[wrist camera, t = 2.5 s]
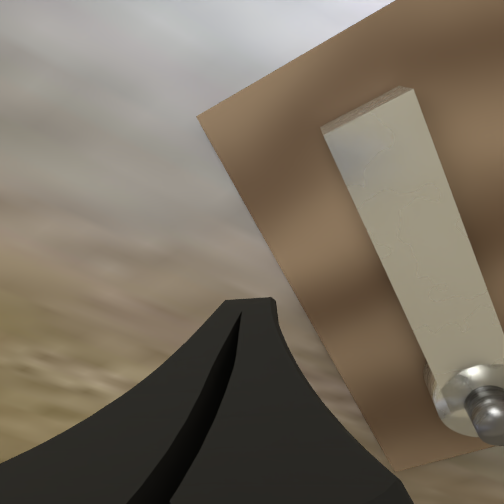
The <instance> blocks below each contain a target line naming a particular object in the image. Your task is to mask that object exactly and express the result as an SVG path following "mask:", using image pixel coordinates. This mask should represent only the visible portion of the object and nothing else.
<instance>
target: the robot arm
mask: <svg viewBox="0 0 504 504" xmlns="http://www.w3.org/2000/svg"><path fill="white" fill-rule="evenodd" d="M0 504H414V503H413V501H412V499H411V498H410V496H409V494H408V492H407V491H406V489H405V487H404V485H403V484H402V482H401V480H400V479H398V478H397V477H396V476H395V475H394V474H393V473H391V472H390V471H389V470H388V469H387V468H386V467H384V466H383V465H382V464H381V463H380V462H379V461H378V460H377V459H376V458H375V457H373V456H372V455H371V454H370V453H369V452H368V451H367V450H366V449H365V448H364V447H363V446H362V445H361V444H360V443H359V442H358V441H357V440H356V439H355V438H354V437H353V436H352V435H351V434H350V433H349V432H348V431H347V430H346V429H345V428H344V426H343V425H342V424H341V423H340V422H339V421H338V419H337V418H336V417H335V416H334V415H333V414H332V413H331V411H330V410H329V409H328V408H327V407H326V406H325V404H324V403H323V402H322V401H321V399H320V398H319V397H318V395H317V394H316V392H315V391H314V390H313V388H312V387H311V385H310V384H309V382H308V381H307V380H306V378H305V377H304V375H303V373H302V372H301V370H300V368H299V367H298V365H297V363H296V361H295V359H294V358H293V356H292V354H291V352H290V350H289V348H288V346H287V344H286V341H285V339H284V337H283V334H282V332H281V329H280V326H279V323H278V314H277V306H276V301H275V300H274V299H273V298H271V297H268V298H252V299H236V300H225V301H224V302H223V303H222V304H221V305H220V306H219V308H218V309H217V310H216V311H215V312H214V313H213V314H212V315H211V316H210V317H209V318H208V320H207V321H206V322H205V323H204V324H203V325H202V326H201V327H200V328H199V329H198V330H197V331H196V332H195V333H194V334H193V335H192V337H191V338H190V339H189V340H188V341H187V342H186V343H185V344H183V345H182V346H181V347H180V348H179V349H178V350H177V351H176V352H175V353H174V354H173V355H172V356H171V357H170V358H168V359H167V360H166V361H165V362H164V363H163V364H162V365H161V366H160V367H158V368H157V369H156V370H155V371H154V372H153V373H151V374H150V375H149V376H148V377H146V378H145V379H144V380H142V381H141V382H140V383H138V384H137V385H136V386H135V387H133V388H132V389H131V390H129V391H128V392H126V393H125V394H124V395H122V396H121V397H119V398H118V399H116V400H115V401H113V402H111V403H110V404H108V405H107V406H105V407H104V408H102V409H101V410H99V411H98V412H96V413H95V414H93V415H92V416H90V417H89V418H87V419H85V420H84V421H82V422H80V423H78V424H77V425H75V426H73V427H71V428H70V429H68V430H66V431H65V432H63V433H61V434H59V435H57V436H55V437H53V438H52V439H50V440H48V441H46V442H44V443H42V444H40V445H38V446H36V447H34V448H32V449H30V450H28V451H26V452H24V453H22V454H20V455H18V456H16V457H14V458H11V459H9V460H7V461H5V462H3V463H1V464H0Z"/></svg>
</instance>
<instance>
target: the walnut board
mask: <svg viewBox="0 0 504 504" xmlns="http://www.w3.org/2000/svg"><path fill="white" fill-rule="evenodd" d="M398 86H402V87H407V88H412V89H414V92H415V94H416V97H417V100H418V103H419V105H420V108H421V111H422V113H423V116H424V119H425V122H426V124H427V127H428V130H429V132H430V135H431V138H432V141H433V143H434V146H435V149H436V151H437V154H438V157H439V160H440V162H441V165H442V168H443V170H444V173H445V176H446V179H447V181H448V184H449V187H450V189H451V192H452V195H453V198H454V200H455V203H456V206H457V208H458V211H459V214H460V217H461V219H462V222H463V225H464V227H465V230H466V233H467V236H468V238H469V241H470V244H471V246H472V249H473V252H474V255H475V257H476V260H477V263H478V265H479V268H480V271H481V274H482V276H483V279H484V282H485V284H486V287H487V290H488V293H489V295H490V298H491V301H492V303H493V306H494V309H495V312H496V314H497V317H498V320H499V322H500V325H501V328H502V331H503V333H504V0H395V1H394V2H392V3H390V4H389V5H387V6H385V7H383V8H382V9H380V10H378V11H377V12H375V13H373V14H371V15H370V16H368V17H366V18H365V19H363V20H361V21H359V22H358V23H356V24H354V25H352V26H351V27H349V28H347V29H346V30H344V31H342V32H340V33H339V34H337V35H335V36H334V37H332V38H330V39H328V40H327V41H325V42H323V43H322V44H320V45H318V46H316V47H315V48H313V49H311V50H310V51H308V52H306V53H304V54H303V55H301V56H299V57H298V58H296V59H294V60H292V61H291V62H289V63H287V64H286V65H284V66H282V67H280V68H279V69H277V70H275V71H274V72H272V73H270V74H268V75H267V76H265V77H263V78H262V79H260V80H258V81H256V82H255V83H253V84H251V85H250V86H248V87H246V88H244V89H243V90H241V91H239V92H238V93H236V94H234V95H232V96H231V97H229V98H227V99H226V100H224V101H222V102H220V103H219V104H217V105H215V106H214V107H212V108H210V109H208V110H207V111H205V112H203V113H202V114H200V115H198V116H196V117H197V119H198V121H199V122H200V124H201V126H202V128H203V130H204V131H205V133H206V135H207V137H208V139H209V140H210V142H211V144H212V146H213V147H214V149H215V151H216V153H217V155H218V156H219V158H220V160H221V162H222V164H223V165H224V167H225V169H226V171H227V173H228V174H229V176H230V178H231V180H232V181H233V183H234V185H235V187H236V189H237V190H238V192H239V194H240V196H241V198H242V199H243V201H244V203H245V205H246V207H247V208H248V210H249V212H250V214H251V215H252V217H253V219H254V221H255V223H256V224H257V226H258V228H259V230H260V232H261V233H262V235H263V237H264V239H265V241H266V242H267V244H268V246H269V248H270V250H271V251H272V253H273V255H274V257H275V258H276V260H277V262H278V264H279V266H280V267H281V269H282V271H283V273H284V275H285V276H286V278H287V280H288V282H289V284H290V285H291V287H292V289H293V291H294V292H295V294H296V296H297V298H298V300H299V301H300V303H301V305H302V307H303V309H304V310H305V312H306V314H307V316H308V318H309V319H310V321H311V323H312V325H313V326H314V328H315V330H316V332H317V334H318V335H319V337H320V339H321V341H322V343H323V344H324V346H325V348H326V350H327V352H328V353H329V355H330V357H331V359H332V361H333V362H334V364H335V366H336V368H337V369H338V371H339V373H340V375H341V377H342V378H343V380H344V382H345V384H346V386H347V387H348V389H349V391H350V393H351V395H352V396H353V398H354V400H355V402H356V403H357V405H358V407H359V409H360V411H361V412H362V414H363V416H364V418H365V420H366V421H367V423H368V425H369V427H370V429H371V430H372V432H373V434H374V436H375V437H376V439H377V441H378V443H379V445H380V446H381V448H382V450H383V452H384V454H385V455H386V457H387V459H388V461H389V463H390V464H391V466H392V468H393V470H394V472H398V471H401V470H405V469H409V468H413V467H417V466H421V465H424V464H428V463H432V462H436V461H440V460H444V459H447V458H451V457H455V456H459V455H463V454H467V453H470V452H474V451H478V450H482V449H486V448H489V447H493V446H494V445H490V444H487V443H485V442H483V441H482V440H481V439H480V438H479V437H471V436H466V435H462V434H460V433H457V432H455V431H453V430H451V429H450V428H448V427H447V426H446V425H445V424H444V423H443V422H442V420H441V419H440V417H439V415H438V413H437V410H436V408H435V405H434V403H433V400H432V398H431V395H430V393H429V391H428V388H427V386H426V383H425V380H424V376H423V370H424V365H425V362H426V358H425V356H424V354H423V352H422V349H421V347H420V345H419V343H418V341H417V338H416V336H415V334H414V332H413V330H412V328H411V325H410V323H409V321H408V319H407V317H406V315H405V312H404V310H403V308H402V306H401V304H400V301H399V299H398V297H397V295H396V293H395V291H394V288H393V286H392V284H391V282H390V280H389V278H388V275H387V273H386V271H385V269H384V267H383V265H382V262H381V260H380V258H379V256H378V254H377V251H376V249H375V247H374V245H373V243H372V241H371V238H370V236H369V234H368V232H367V230H366V228H365V225H364V223H363V221H362V219H361V217H360V215H359V212H358V210H357V208H356V206H355V204H354V201H353V199H352V197H351V195H350V193H349V191H348V188H347V186H346V184H345V182H344V180H343V178H342V175H341V173H340V171H339V169H338V167H337V164H336V162H335V160H334V158H333V156H332V154H331V151H330V149H329V147H328V145H327V143H326V141H325V138H324V136H323V134H322V131H321V129H320V127H321V126H323V125H325V124H327V123H329V122H331V121H333V120H335V119H336V118H338V117H340V116H342V115H344V114H346V113H348V112H350V111H352V110H354V109H356V108H357V107H359V106H361V105H363V104H365V103H367V102H369V101H371V100H373V99H375V98H377V97H379V96H380V95H382V94H384V93H386V92H388V91H390V90H392V89H394V88H396V87H398Z"/></svg>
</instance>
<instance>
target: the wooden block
mask: <svg viewBox="0 0 504 504" xmlns="http://www.w3.org/2000/svg"><path fill="white" fill-rule="evenodd" d="M320 129H321V131H322V134H323V136H324V138H325V141H326V143H327V145H328V147H329V149H330V151H331V154H332V156H333V158H334V160H335V162H336V164H337V167H338V169H339V171H340V173H341V175H342V178H343V180H344V182H345V184H346V186H347V188H348V191H349V193H350V195H351V197H352V199H353V201H354V204H355V206H356V208H357V210H358V212H359V215H360V217H361V219H362V221H363V223H364V225H365V228H366V230H367V232H368V234H369V236H370V238H371V241H372V243H373V245H374V247H375V249H376V251H377V254H378V256H379V258H380V260H381V262H382V265H383V267H384V269H385V271H386V273H387V275H388V278H389V280H390V282H391V284H392V286H393V288H394V291H395V293H396V295H397V297H398V299H399V301H400V304H401V306H402V308H403V310H404V312H405V315H406V317H407V319H408V321H409V323H410V325H411V328H412V330H413V332H414V334H415V336H416V338H417V341H418V343H419V345H420V347H421V349H422V352H423V354H424V356H425V358H426V362H425V365H424V370H423V376H424V380H425V383H426V386H427V388H428V391H429V393H430V395H431V398H432V400H433V403H434V405H435V408H436V410H437V413H438V415H439V417H440V419H441V420H442V422H443V423H444V424H445V425H446V426H447V427H448V428H450V429H451V430H453V431H455V432H457V433H460V434H462V435H466V436H471V437H479V438H480V439H481V440H482V441H483V442H485V443H487V444H490V445H494V446H504V333H503V331H502V328H501V325H500V322H499V320H498V317H497V314H496V312H495V309H494V306H493V303H492V301H491V298H490V295H489V293H488V290H487V287H486V284H485V282H484V279H483V276H482V274H481V271H480V268H479V265H478V263H477V260H476V257H475V255H474V252H473V249H472V246H471V244H470V241H469V238H468V236H467V233H466V230H465V227H464V225H463V222H462V219H461V217H460V214H459V211H458V208H457V206H456V203H455V200H454V198H453V195H452V192H451V189H450V187H449V184H448V181H447V179H446V176H445V173H444V170H443V168H442V165H441V162H440V160H439V157H438V154H437V151H436V149H435V146H434V143H433V141H432V138H431V135H430V132H429V130H428V127H427V124H426V122H425V119H424V116H423V113H422V111H421V108H420V105H419V103H418V100H417V97H416V94H415V92H414V89H412V88H407V87H402V86H398V87H396V88H394V89H392V90H390V91H388V92H386V93H384V94H382V95H380V96H379V97H377V98H375V99H373V100H371V101H369V102H367V103H365V104H363V105H361V106H359V107H357V108H356V109H354V110H352V111H350V112H348V113H346V114H344V115H342V116H340V117H338V118H336V119H335V120H333V121H331V122H329V123H327V124H325V125H323V126H321V127H320Z"/></svg>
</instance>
